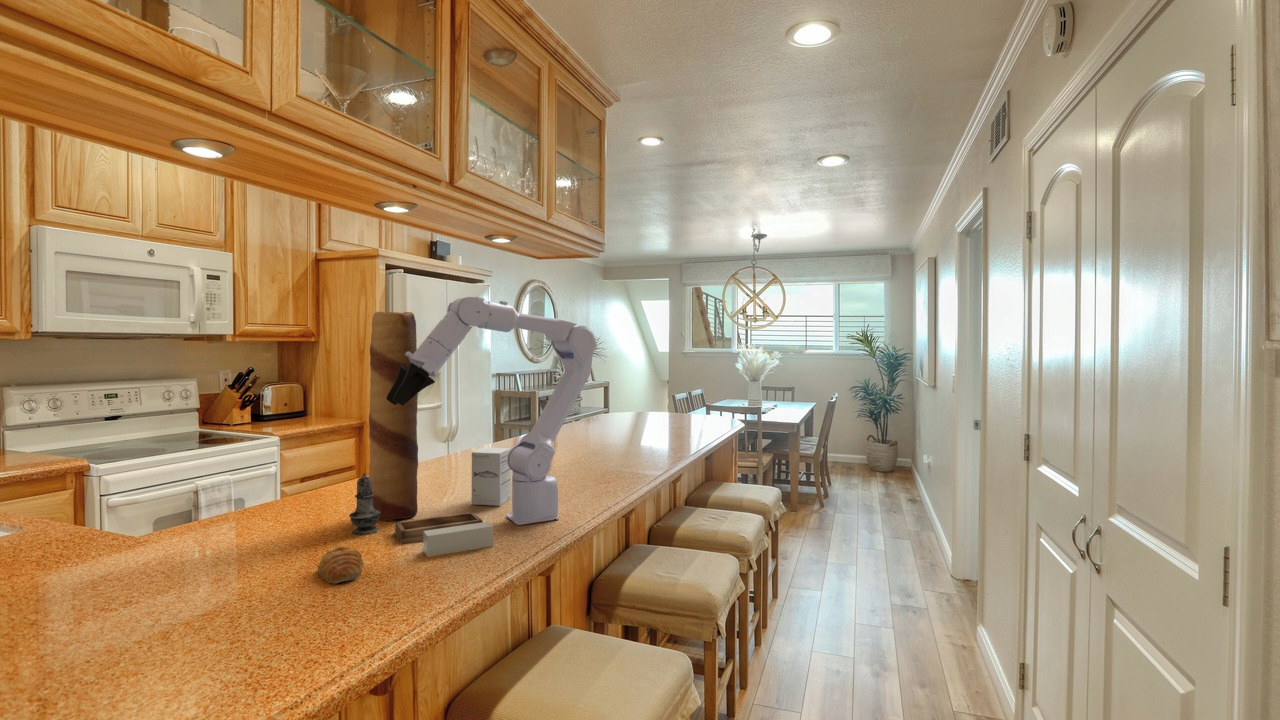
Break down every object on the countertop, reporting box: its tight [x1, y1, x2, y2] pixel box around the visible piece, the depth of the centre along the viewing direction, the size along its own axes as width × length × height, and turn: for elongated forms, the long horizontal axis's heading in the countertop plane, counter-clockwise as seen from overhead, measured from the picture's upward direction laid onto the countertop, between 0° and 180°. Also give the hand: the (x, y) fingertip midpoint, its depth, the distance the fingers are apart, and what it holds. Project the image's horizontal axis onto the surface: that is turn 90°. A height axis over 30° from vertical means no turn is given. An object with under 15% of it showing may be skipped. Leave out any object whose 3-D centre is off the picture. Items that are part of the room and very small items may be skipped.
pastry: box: [317, 545, 364, 585], centre depth 104 cm, size 9×7×4 cm
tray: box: [394, 511, 483, 545], centre depth 127 cm, size 16×8×2 cm, turn 120°
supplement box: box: [471, 447, 512, 507], centre depth 150 cm, size 7×7×13 cm
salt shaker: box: [348, 472, 381, 536], centre depth 127 cm, size 6×6×12 cm
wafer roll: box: [368, 311, 419, 521], centre depth 138 cm, size 10×11×45 cm
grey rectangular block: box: [422, 521, 494, 558], centre depth 117 cm, size 12×4×4 cm, turn 120°
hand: (393, 402), depth 119 cm, fingers open, 7 cm apart
